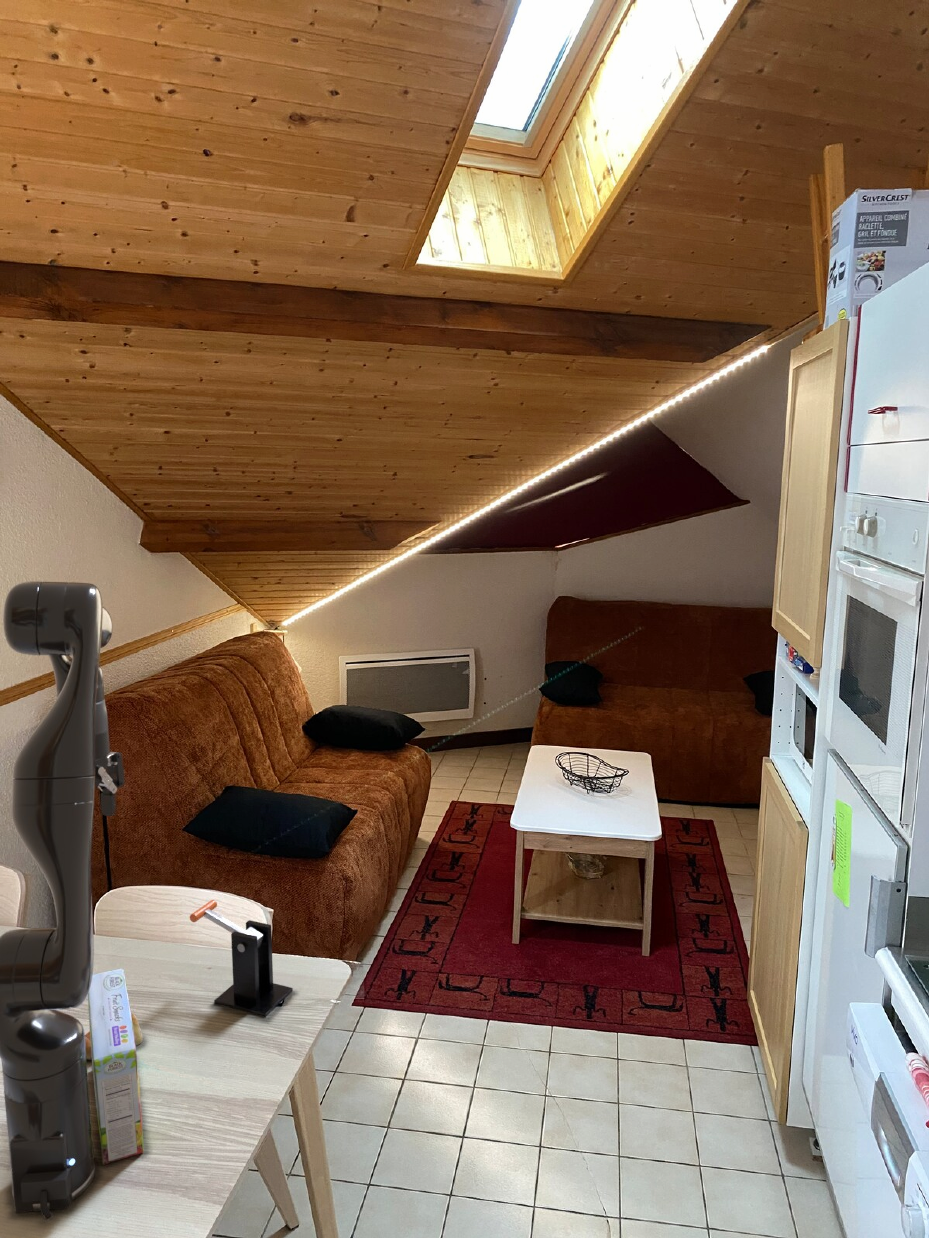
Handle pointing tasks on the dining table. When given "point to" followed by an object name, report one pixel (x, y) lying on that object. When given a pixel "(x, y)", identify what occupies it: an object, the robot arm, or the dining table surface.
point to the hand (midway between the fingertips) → (89, 823)
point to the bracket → (253, 974)
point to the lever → (223, 921)
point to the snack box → (114, 1067)
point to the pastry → (136, 1034)
